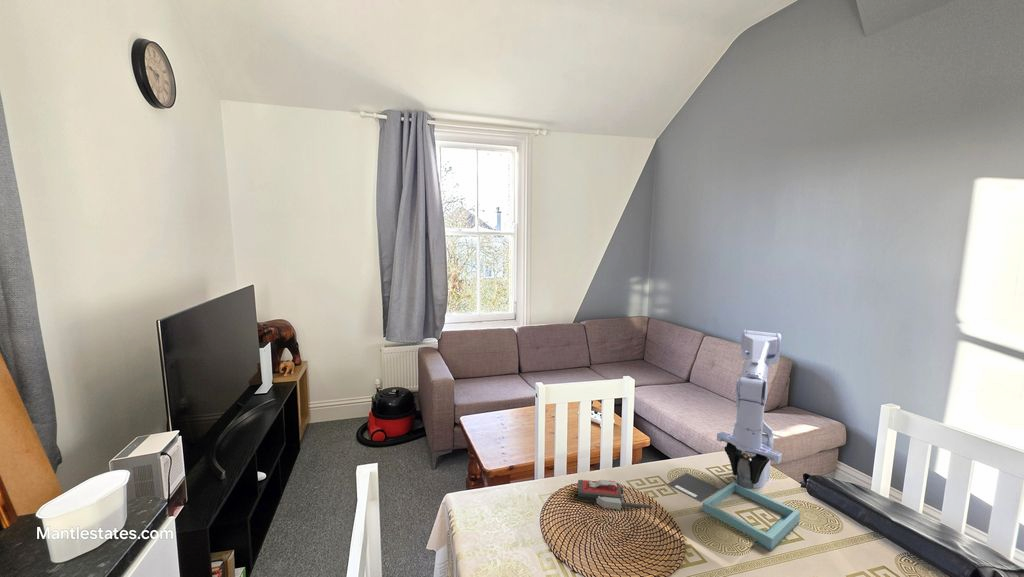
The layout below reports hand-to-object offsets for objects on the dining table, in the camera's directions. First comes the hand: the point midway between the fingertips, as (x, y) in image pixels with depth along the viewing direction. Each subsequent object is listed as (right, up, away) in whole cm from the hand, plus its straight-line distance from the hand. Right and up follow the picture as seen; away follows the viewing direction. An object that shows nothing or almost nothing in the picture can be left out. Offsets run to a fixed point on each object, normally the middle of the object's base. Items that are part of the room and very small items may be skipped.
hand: (745, 478), depth 103 cm
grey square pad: (-8, -9, +12) cm, 17 cm away
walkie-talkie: (-32, -10, +7) cm, 34 cm away
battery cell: (0, -2, 0) cm, 2 cm away
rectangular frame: (+1, -10, 0) cm, 10 cm away
